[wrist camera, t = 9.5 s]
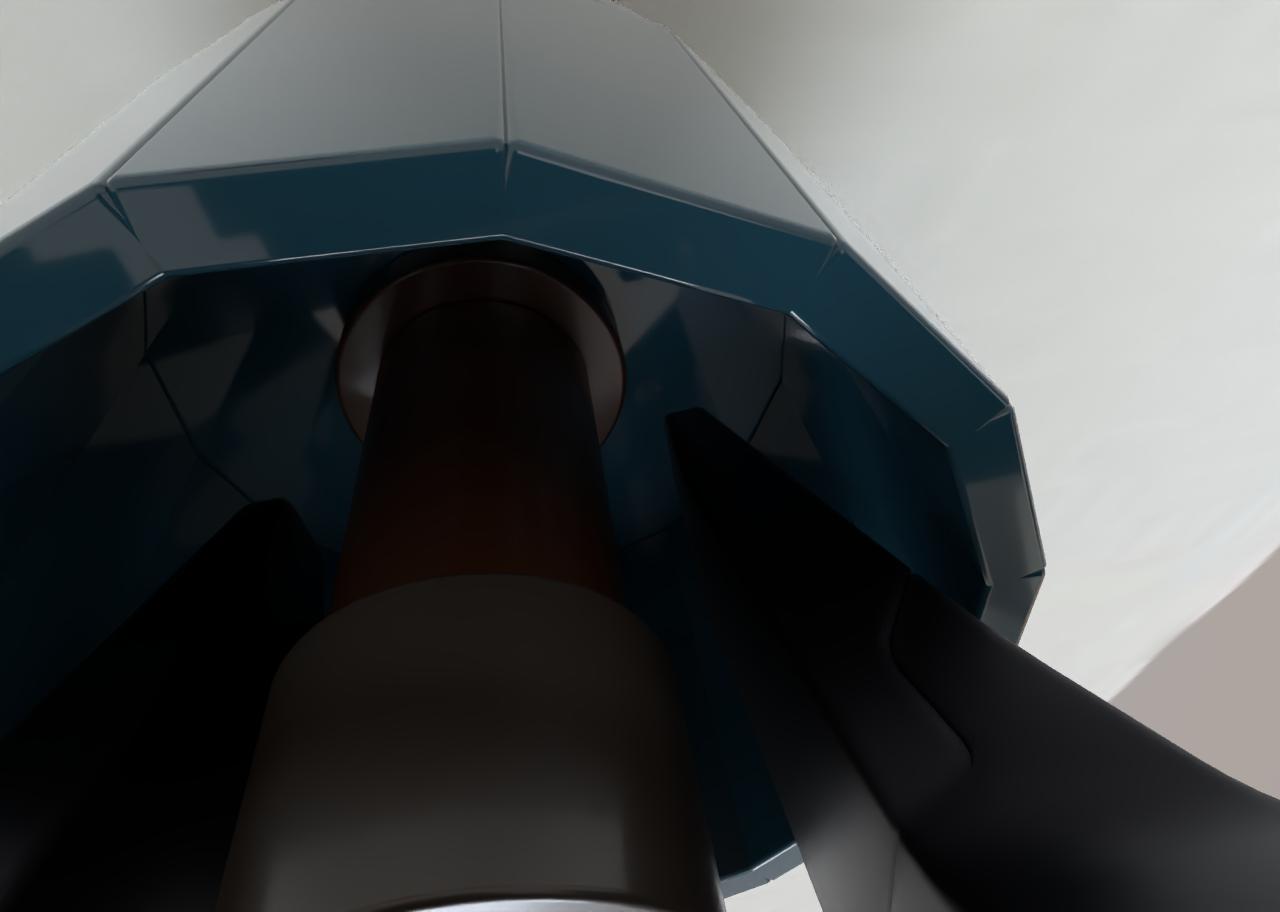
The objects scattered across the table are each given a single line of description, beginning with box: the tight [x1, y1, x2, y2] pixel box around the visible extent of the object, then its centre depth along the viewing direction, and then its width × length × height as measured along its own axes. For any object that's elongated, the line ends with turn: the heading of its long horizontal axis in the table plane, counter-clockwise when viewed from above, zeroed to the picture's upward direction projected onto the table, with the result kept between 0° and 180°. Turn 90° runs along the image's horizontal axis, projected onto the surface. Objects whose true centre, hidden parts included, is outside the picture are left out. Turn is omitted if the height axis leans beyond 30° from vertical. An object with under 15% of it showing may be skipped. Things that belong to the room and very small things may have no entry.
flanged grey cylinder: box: [214, 240, 726, 912], centre depth 8 cm, size 4×4×7 cm
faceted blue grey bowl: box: [0, 0, 1046, 898], centre depth 9 cm, size 9×9×6 cm
